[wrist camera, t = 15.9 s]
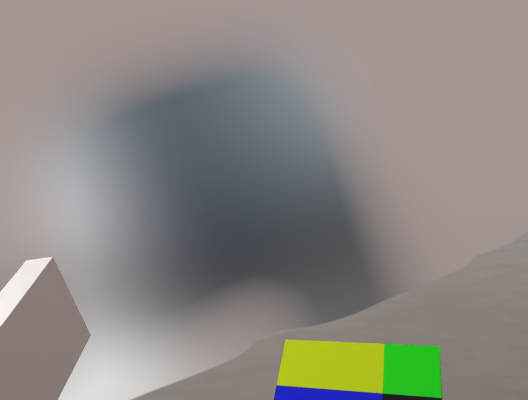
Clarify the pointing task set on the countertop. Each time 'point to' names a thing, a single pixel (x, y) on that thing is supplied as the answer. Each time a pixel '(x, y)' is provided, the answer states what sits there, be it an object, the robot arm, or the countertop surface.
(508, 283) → the countertop surface
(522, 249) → the countertop surface
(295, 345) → the puzzle toy
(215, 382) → the countertop surface
